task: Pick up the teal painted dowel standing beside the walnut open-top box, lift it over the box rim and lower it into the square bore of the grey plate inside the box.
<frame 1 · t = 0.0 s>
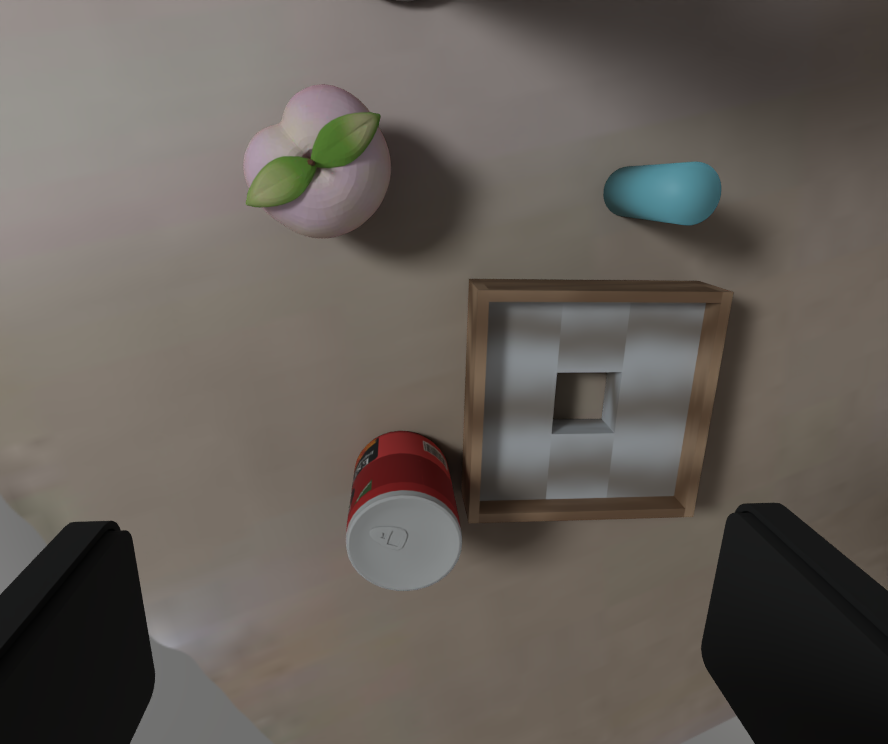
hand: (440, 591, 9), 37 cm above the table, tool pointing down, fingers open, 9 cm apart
peg: (626, 191, 44), on the table
decorative fruit: (332, 170, 41), on the table
bore box: (574, 390, 48), on the table
canned food: (401, 467, 49), on the table
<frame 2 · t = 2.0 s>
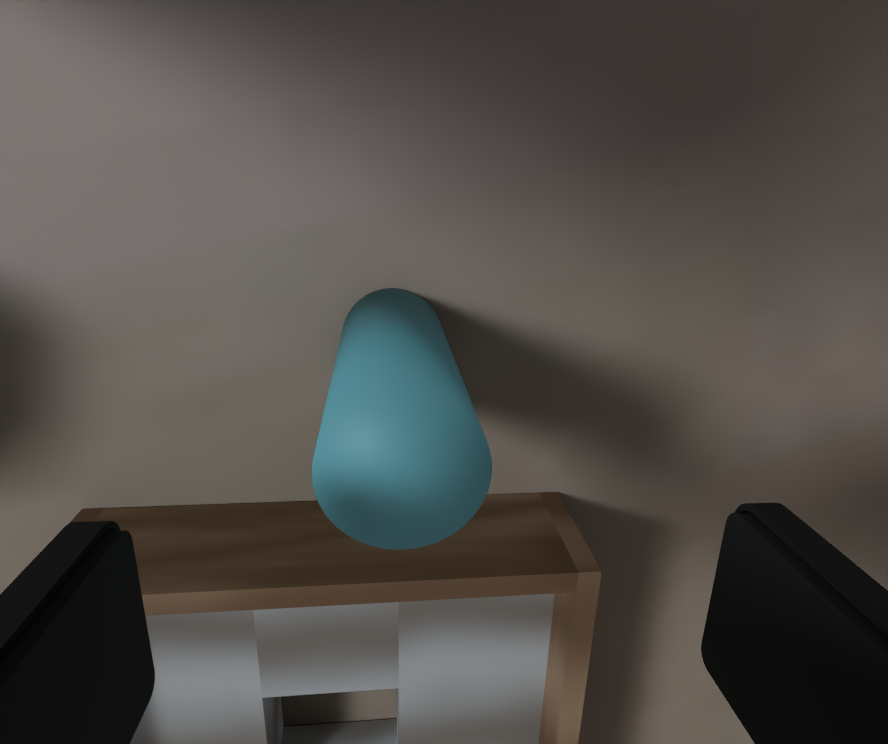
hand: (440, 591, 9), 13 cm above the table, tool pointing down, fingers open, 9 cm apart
peg: (392, 337, 21), on the table
bore box: (338, 679, 26), on the table
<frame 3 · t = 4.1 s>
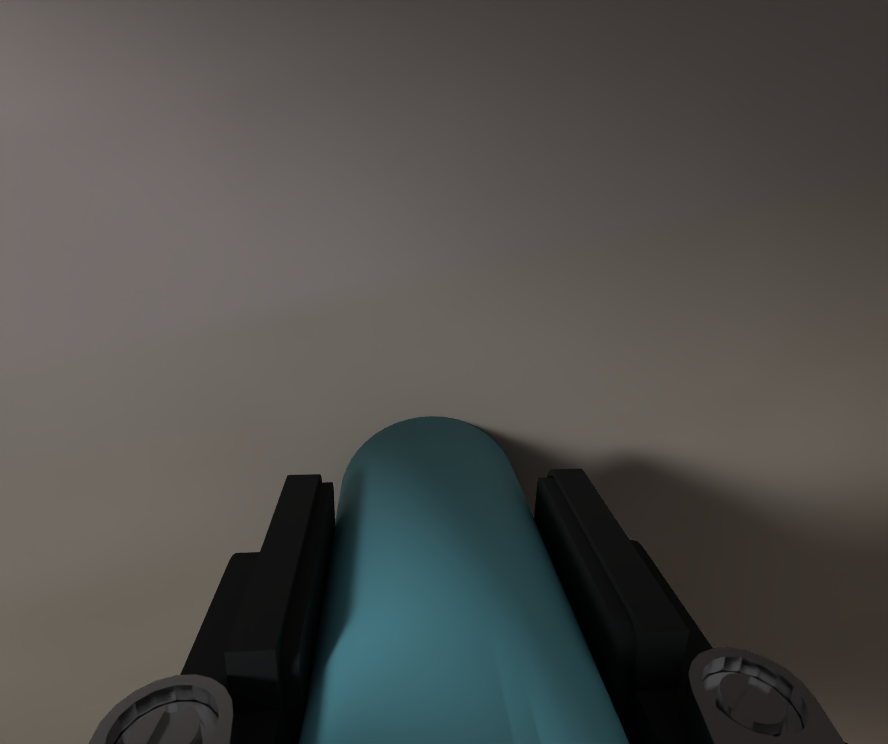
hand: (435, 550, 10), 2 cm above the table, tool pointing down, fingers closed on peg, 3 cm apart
peg: (429, 498, 12), on the table, touching gripper
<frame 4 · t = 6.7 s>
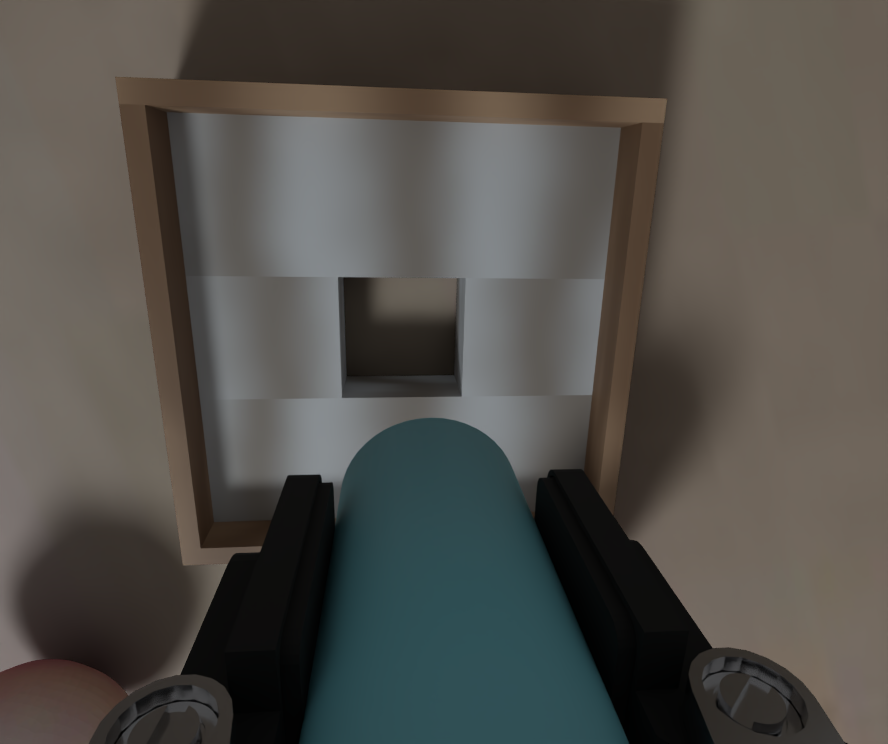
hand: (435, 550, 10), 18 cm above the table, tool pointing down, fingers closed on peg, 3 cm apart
peg: (429, 499, 12), point 16 cm above the table, touching gripper
decorative fruit: (91, 669, 32), on the table
bore box: (400, 323, 27), on the table
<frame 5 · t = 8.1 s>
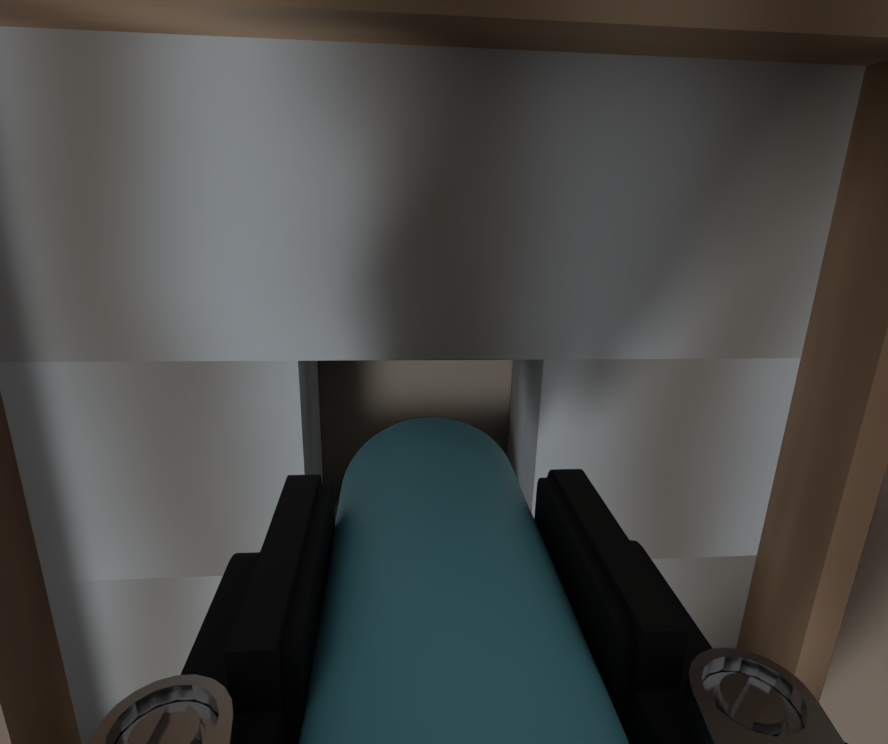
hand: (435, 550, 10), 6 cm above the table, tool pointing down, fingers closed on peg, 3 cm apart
peg: (429, 498, 12), point 4 cm above the table, touching gripper
bore box: (416, 419, 16), on the table
when the fingers open (4 cm above the table, at t = 9.2 s): peg drops 2 cm, resting in bore box.
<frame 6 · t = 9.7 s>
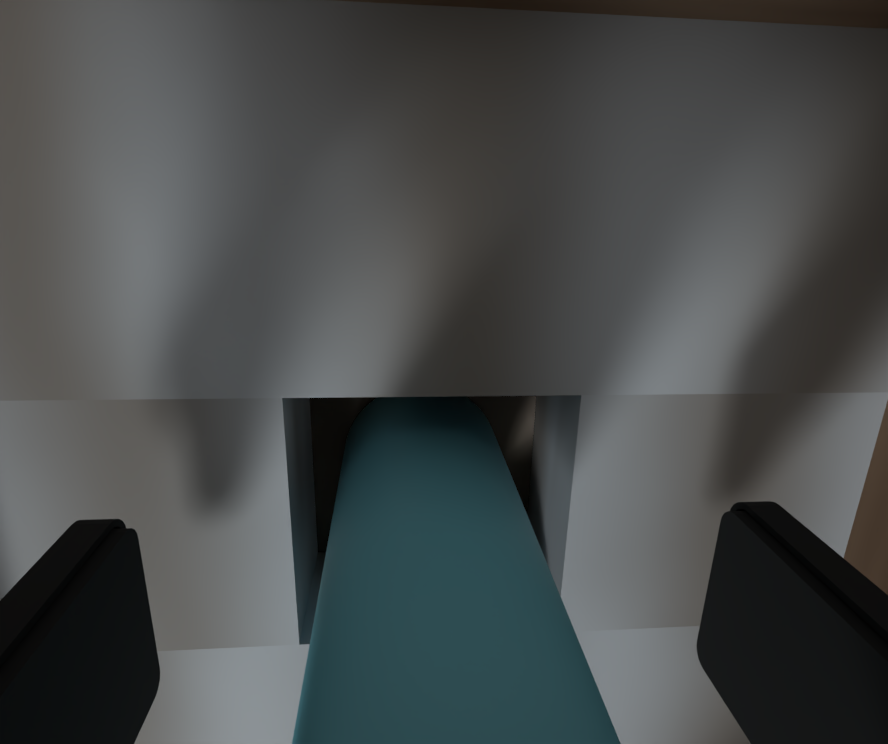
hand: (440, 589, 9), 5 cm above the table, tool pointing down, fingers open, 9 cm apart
peg: (421, 455, 14), resting in bore box
bore box: (424, 454, 14), on the table
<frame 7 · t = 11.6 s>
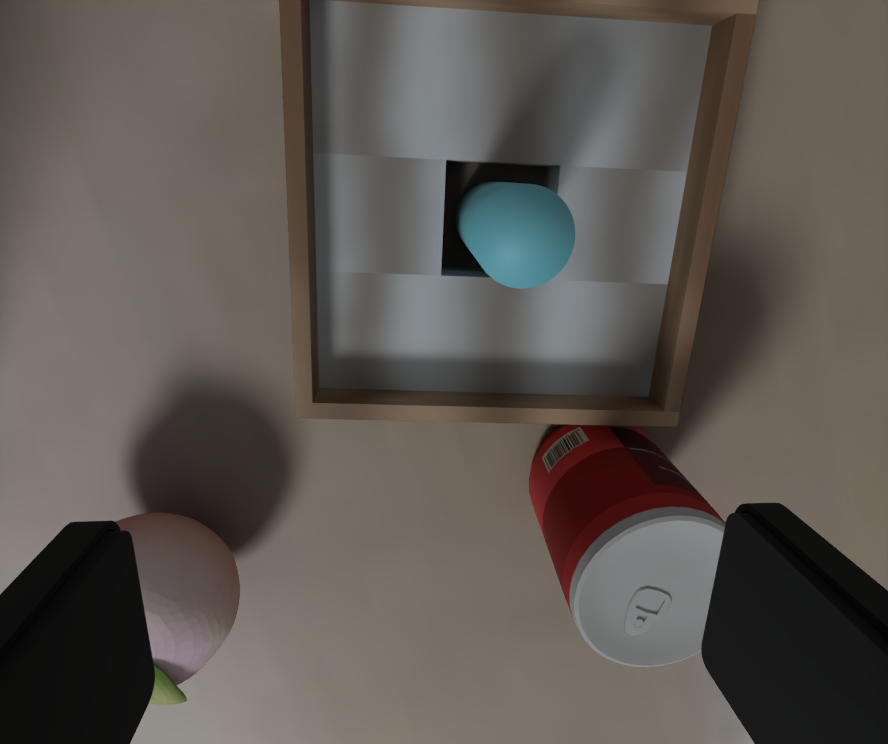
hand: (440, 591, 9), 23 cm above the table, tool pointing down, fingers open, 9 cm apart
peg: (489, 217, 30), resting in bore box
decorative fruit: (191, 534, 35), on the table
bore box: (491, 217, 30), on the table
canned food: (588, 468, 35), on the table
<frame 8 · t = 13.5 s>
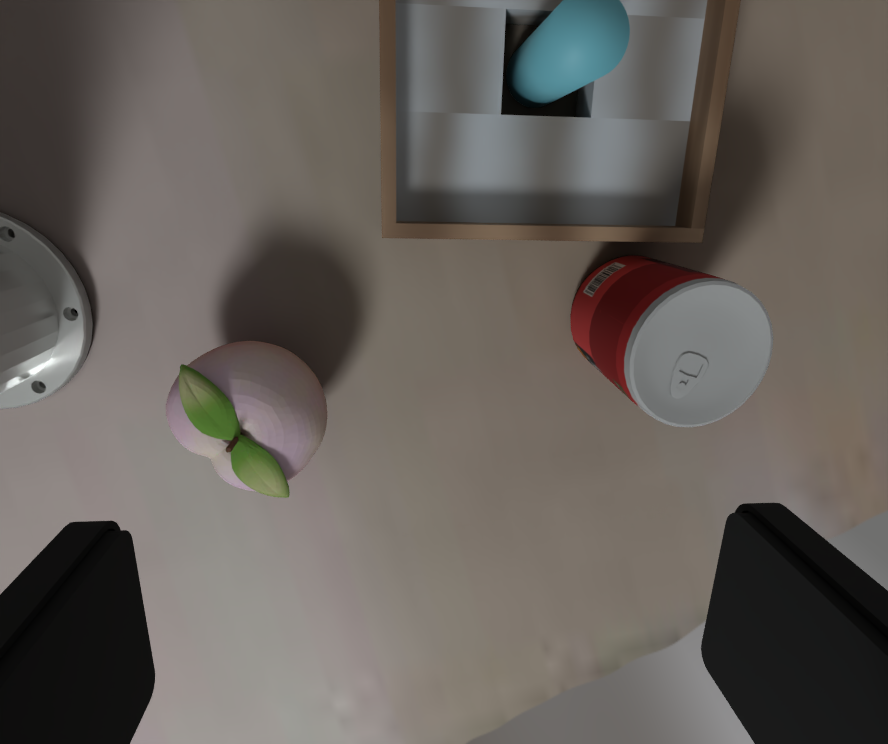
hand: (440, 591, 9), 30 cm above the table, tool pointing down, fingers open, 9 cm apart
peg: (535, 75, 35), resting in bore box
decorative fruit: (271, 381, 39), on the table
bore box: (536, 74, 35), on the table
canned food: (619, 311, 40), on the table
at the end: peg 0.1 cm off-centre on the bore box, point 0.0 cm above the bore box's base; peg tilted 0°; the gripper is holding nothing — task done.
